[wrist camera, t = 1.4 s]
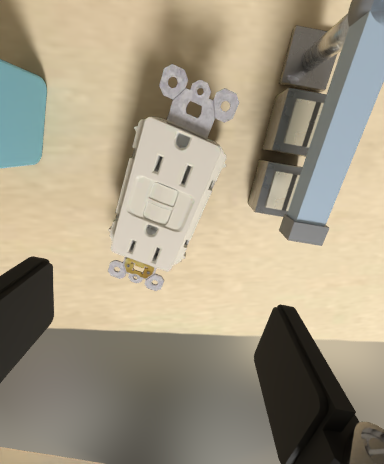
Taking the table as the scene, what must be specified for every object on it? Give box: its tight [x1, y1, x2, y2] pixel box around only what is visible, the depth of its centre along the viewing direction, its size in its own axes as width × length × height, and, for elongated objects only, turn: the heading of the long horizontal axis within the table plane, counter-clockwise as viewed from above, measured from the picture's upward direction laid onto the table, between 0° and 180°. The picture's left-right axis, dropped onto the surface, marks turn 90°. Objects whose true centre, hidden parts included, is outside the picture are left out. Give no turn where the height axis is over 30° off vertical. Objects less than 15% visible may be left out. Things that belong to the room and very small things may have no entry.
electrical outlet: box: [108, 64, 239, 291], centre depth 32 cm, size 12×28×10 cm, turn 158°
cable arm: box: [279, 0, 384, 246], centre depth 20 cm, size 22×4×3 cm, turn 171°
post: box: [279, 14, 349, 92], centre depth 24 cm, size 6×6×12 cm
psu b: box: [248, 160, 303, 217], centre depth 33 cm, size 7×6×5 cm
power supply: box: [262, 88, 327, 157], centre depth 30 cm, size 7×6×5 cm
